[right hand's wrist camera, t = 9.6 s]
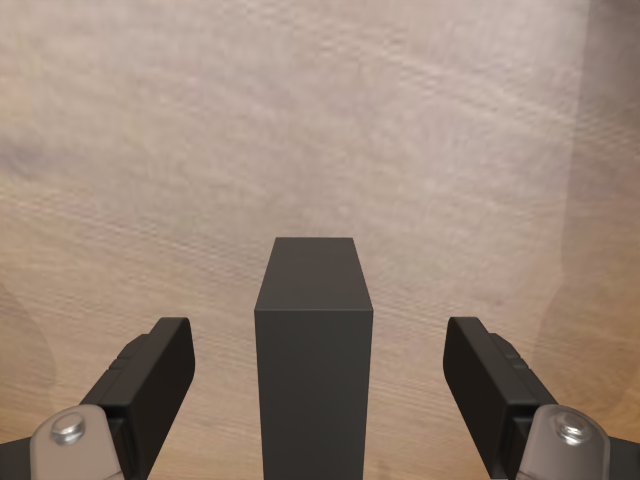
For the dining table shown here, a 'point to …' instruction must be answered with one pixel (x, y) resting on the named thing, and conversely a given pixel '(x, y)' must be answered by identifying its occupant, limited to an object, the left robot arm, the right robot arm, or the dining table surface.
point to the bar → (313, 360)
